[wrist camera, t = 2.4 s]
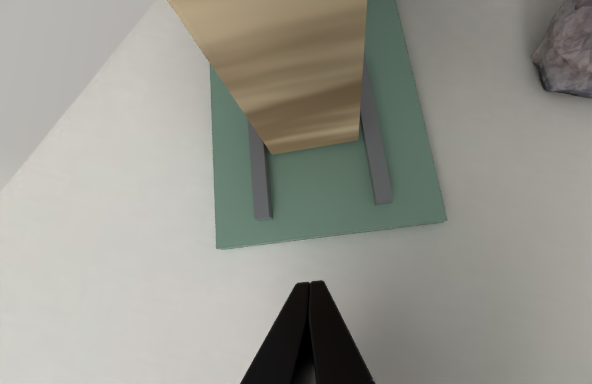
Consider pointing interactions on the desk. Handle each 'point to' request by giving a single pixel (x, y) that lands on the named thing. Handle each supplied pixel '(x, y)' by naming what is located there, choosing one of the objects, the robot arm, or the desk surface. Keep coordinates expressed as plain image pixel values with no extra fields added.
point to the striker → (286, 64)
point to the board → (331, 160)
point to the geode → (567, 50)
